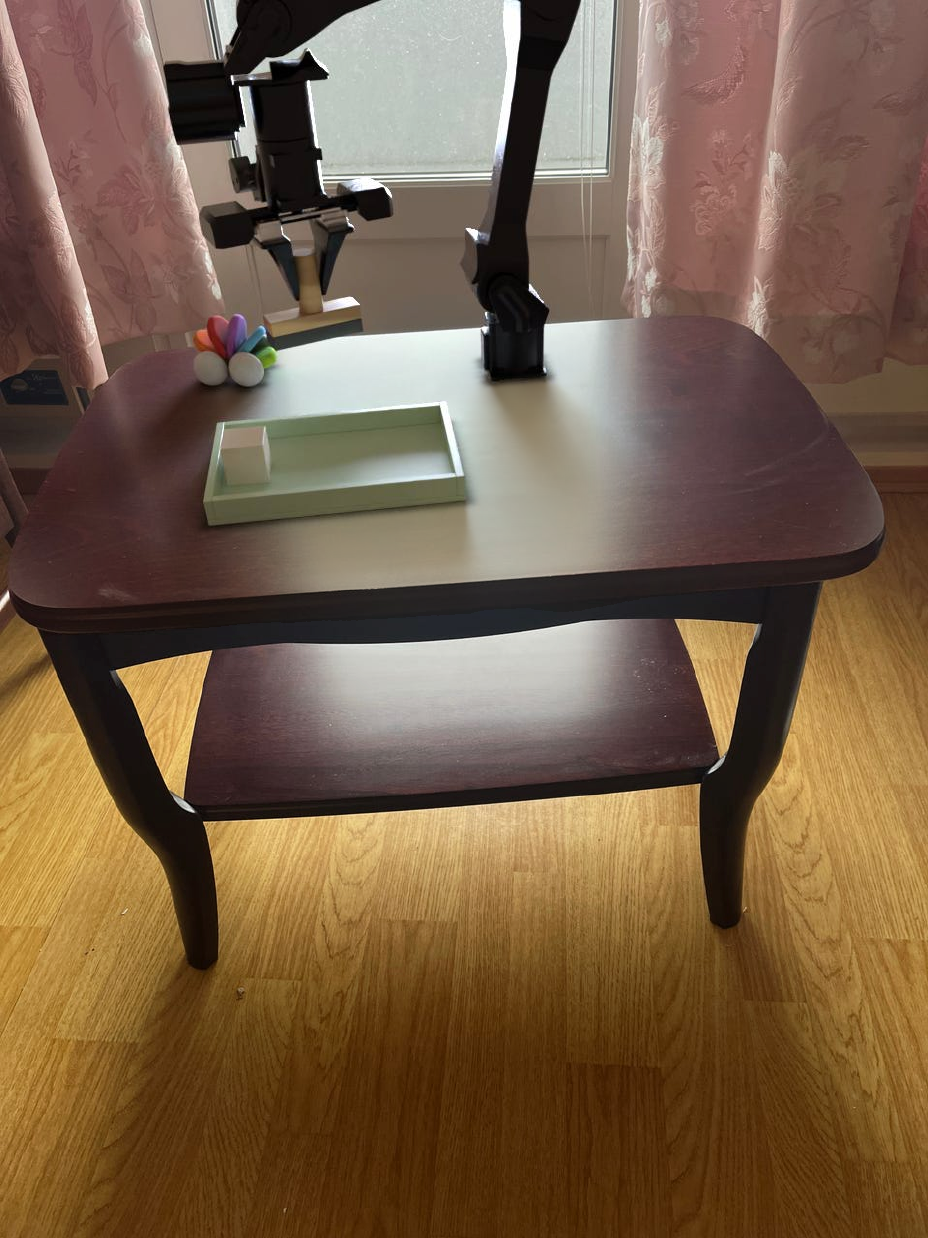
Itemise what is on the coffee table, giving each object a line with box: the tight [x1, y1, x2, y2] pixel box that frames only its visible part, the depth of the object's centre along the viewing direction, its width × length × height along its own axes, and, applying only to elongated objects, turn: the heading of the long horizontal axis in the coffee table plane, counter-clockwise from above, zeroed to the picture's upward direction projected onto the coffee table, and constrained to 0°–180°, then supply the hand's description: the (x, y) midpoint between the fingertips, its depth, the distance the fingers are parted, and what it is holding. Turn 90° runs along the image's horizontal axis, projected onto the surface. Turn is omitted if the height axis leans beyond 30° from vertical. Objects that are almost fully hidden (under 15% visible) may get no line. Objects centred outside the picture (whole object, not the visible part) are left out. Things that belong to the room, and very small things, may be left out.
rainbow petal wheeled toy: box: [192, 313, 278, 387], centre depth 110 cm, size 8×10×7 cm
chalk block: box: [220, 426, 272, 486], centre depth 91 cm, size 4×4×4 cm
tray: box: [202, 401, 467, 527], centre depth 92 cm, size 24×16×3 cm, turn 97°
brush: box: [262, 247, 364, 352], centre depth 100 cm, size 3×10×9 cm, turn 116°
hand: (309, 296), depth 101 cm, fingers closed on brush, 2 cm apart
